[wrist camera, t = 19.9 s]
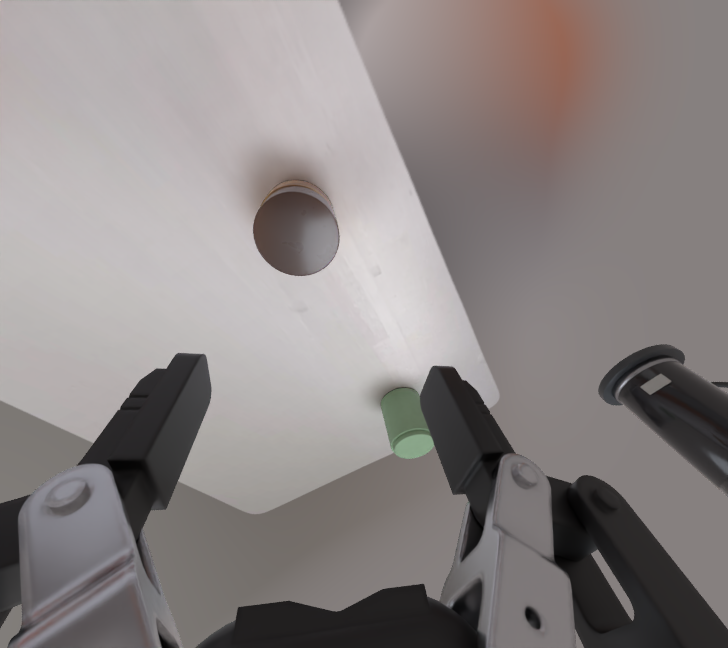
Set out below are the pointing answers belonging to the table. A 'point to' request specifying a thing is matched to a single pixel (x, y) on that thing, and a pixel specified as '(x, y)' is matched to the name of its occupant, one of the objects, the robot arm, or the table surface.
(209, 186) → the table surface
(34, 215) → the table surface
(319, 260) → the walnut chip
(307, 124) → the table surface
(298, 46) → the table surface
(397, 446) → the green lidded canister
